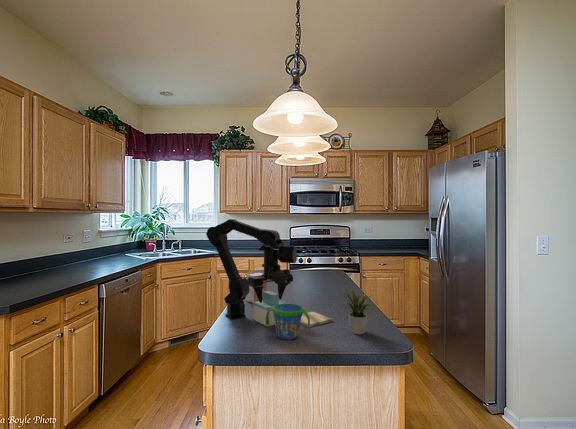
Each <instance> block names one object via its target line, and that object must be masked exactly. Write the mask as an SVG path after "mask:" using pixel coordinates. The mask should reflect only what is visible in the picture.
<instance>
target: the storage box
mask: <svg viewBox="0 0 576 429" xmlns="http://www.w3.org/2000/svg"><path fill="white" fill-rule="evenodd" d="M267 312H268V310H267V311H266V310H264V309H262V308H260V307H257V306H255V305H253V320H254V321H256V322H258V323H260V324H262V325H263V326H265V327H269V326H273V325H275V319H274V313H273V311H272V310H271V311H270V312H269V315H268V317H269V324H268V325H266V314H267Z"/></svg>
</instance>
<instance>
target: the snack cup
mask: <svg viewBox="0 0 576 429" xmlns="http://www.w3.org/2000/svg"><path fill="white" fill-rule="evenodd" d="M271 310H272V311H273V313H274V319H275V324H274V325H275V327H274V328H275V334H276V337H278V338H279V339H280V340H289V341H290V340H291V341H292V340H294V339H296V338H298V337H299V331H300V326H301V325H300V321H301V317H302V314H305V316H306V317H307V319H308V327H306V330H309V328H310V327H309V326H310V318H309V315H308V313H309V312H308V311H306V310H305V309H304V308H303V307H302V306H301V305H299V304H296V303H295V304H294V303H288V304H278V305H275V306H274V307H272V308H271V309H269V310H268V312H267V314H266V325H268V324H269V317H268V315H269V312H270V311H271Z"/></svg>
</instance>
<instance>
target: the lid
mask: <svg viewBox="0 0 576 429" xmlns="http://www.w3.org/2000/svg"><path fill="white" fill-rule="evenodd" d="M278 304H289V303H288V302H286V301H283V300H281V299H279V294H278V292H273V291H271V290H266V291H265V292H263V300H262V303H260V302H259V301H256V302H253V303H252V306H254V305H255V306H257V307H260V308H262V309H264V310H266V311H267V310H269V309H271V308H272V307H274V306H275V305H278Z"/></svg>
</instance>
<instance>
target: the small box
mask: <svg viewBox="0 0 576 429" xmlns="http://www.w3.org/2000/svg"><path fill="white" fill-rule="evenodd" d="M262 274H264V272H263V273H261V272H255V273H250V274H249V273H248V274H245V275H246V279H247V280H248V278H249V277H255V276H257V277H260V278H264V277H262ZM262 286H264V287H263V289H262V300H263V292H265V291H267V282H265V283H263V285H262ZM249 289H250V291H249V294H248V295H247V296H246V298H245V301H246V302H249V303H252V304H253V302H256V301H259V299H258V297H257V295H256V292H255V290H254V289H253V287H251V286H249Z"/></svg>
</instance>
